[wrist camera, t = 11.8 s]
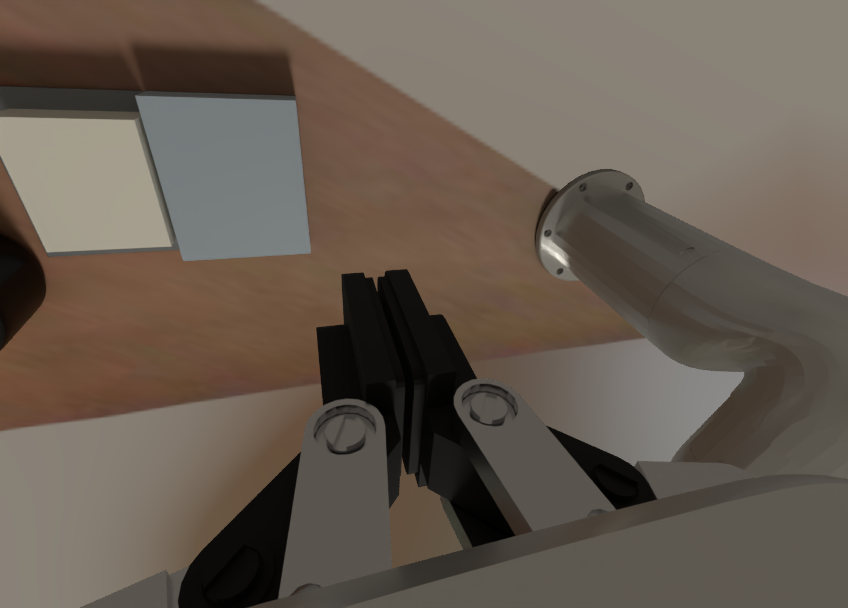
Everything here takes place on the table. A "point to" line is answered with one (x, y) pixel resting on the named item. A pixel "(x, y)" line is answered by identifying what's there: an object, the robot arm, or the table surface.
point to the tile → (86, 178)
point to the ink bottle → (17, 288)
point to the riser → (229, 172)
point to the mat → (73, 100)
